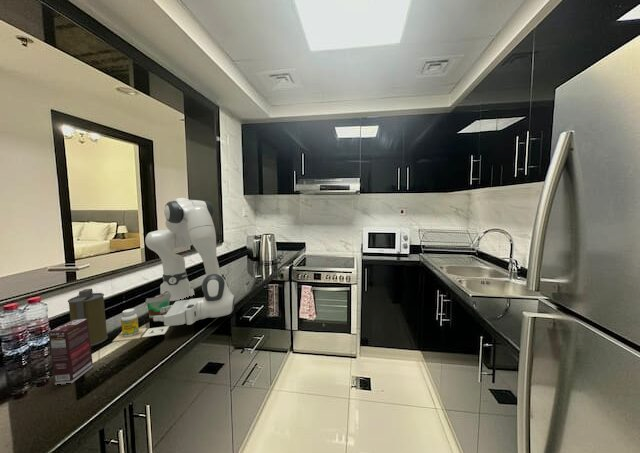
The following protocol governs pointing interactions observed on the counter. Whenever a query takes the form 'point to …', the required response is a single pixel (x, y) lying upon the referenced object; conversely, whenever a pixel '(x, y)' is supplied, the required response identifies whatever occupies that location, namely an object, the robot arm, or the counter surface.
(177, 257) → the robot arm
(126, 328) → the supplement bottle
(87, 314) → the canister
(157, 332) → the tile
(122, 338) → the coaster
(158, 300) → the food container
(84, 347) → the supplement box
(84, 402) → the counter surface
